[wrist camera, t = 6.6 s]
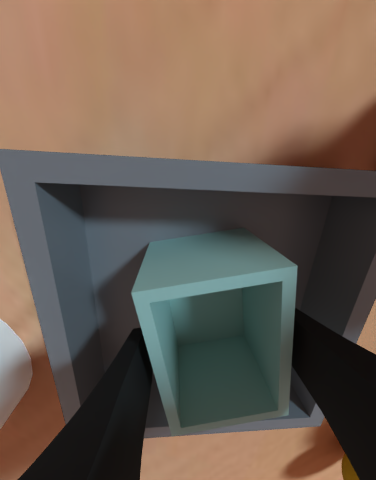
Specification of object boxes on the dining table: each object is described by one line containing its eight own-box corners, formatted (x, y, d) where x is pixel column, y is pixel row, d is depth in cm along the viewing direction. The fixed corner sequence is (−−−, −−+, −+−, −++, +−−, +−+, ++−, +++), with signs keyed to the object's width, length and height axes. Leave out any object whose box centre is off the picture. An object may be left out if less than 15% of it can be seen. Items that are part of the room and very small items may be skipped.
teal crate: (243, 227, 11) (297, 265, 6) (248, 332, 14) (288, 415, 9) (149, 242, 11) (131, 292, 6) (172, 345, 13) (171, 436, 9)
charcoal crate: (342, 175, 11) (429, 173, 7) (286, 368, 16) (320, 426, 12) (63, 159, 10) (-5, 148, 6) (96, 375, 15) (70, 443, 11)
